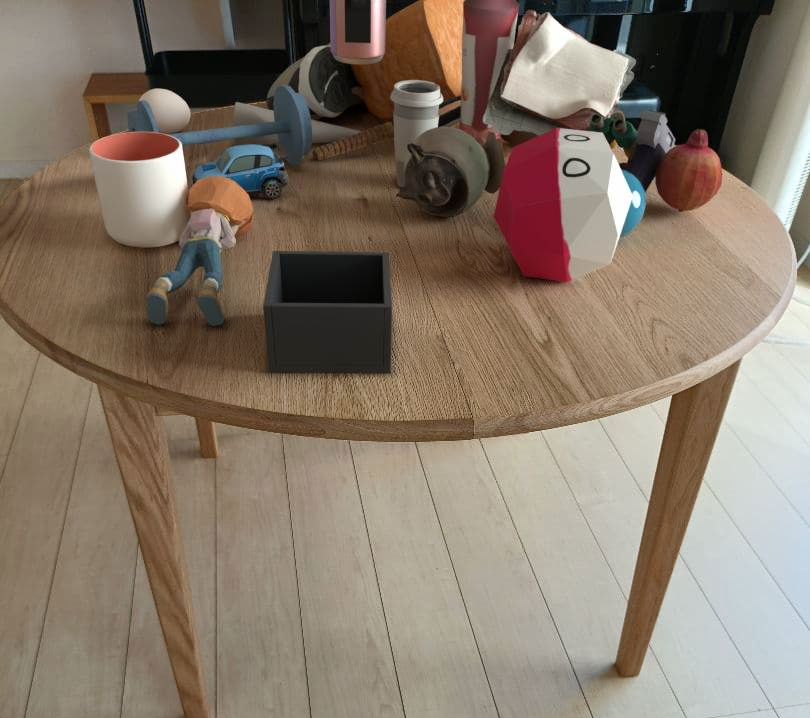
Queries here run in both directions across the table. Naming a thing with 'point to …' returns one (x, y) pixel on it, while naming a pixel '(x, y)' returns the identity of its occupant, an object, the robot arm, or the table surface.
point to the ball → (633, 204)
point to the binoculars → (616, 133)
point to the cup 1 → (141, 187)
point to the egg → (167, 110)
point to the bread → (416, 54)
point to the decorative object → (562, 204)
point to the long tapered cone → (256, 115)
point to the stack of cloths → (555, 80)
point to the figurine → (204, 245)
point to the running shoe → (321, 83)
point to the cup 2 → (413, 116)
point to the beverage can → (358, 51)
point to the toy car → (250, 168)
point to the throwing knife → (380, 134)
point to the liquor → (483, 58)
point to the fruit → (689, 174)
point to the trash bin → (328, 312)
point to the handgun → (650, 147)
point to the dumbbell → (287, 125)
